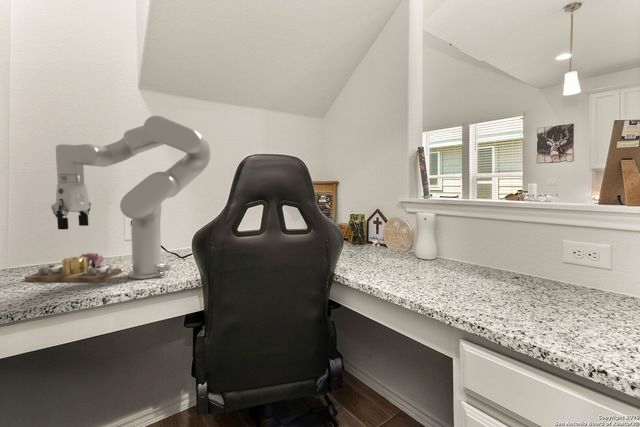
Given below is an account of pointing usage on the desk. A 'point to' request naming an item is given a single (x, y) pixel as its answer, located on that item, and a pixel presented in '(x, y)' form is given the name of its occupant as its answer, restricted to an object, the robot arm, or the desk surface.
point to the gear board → (90, 275)
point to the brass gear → (75, 265)
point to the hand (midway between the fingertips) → (73, 227)
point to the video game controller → (95, 256)
